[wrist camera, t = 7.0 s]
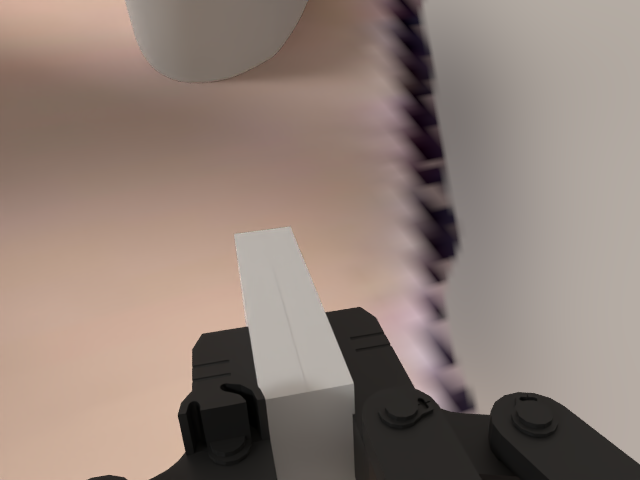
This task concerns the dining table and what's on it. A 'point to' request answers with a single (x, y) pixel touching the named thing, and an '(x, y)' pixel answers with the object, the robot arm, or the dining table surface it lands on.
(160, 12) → the lumpy-topped squat cylinder
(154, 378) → the dining table surface
